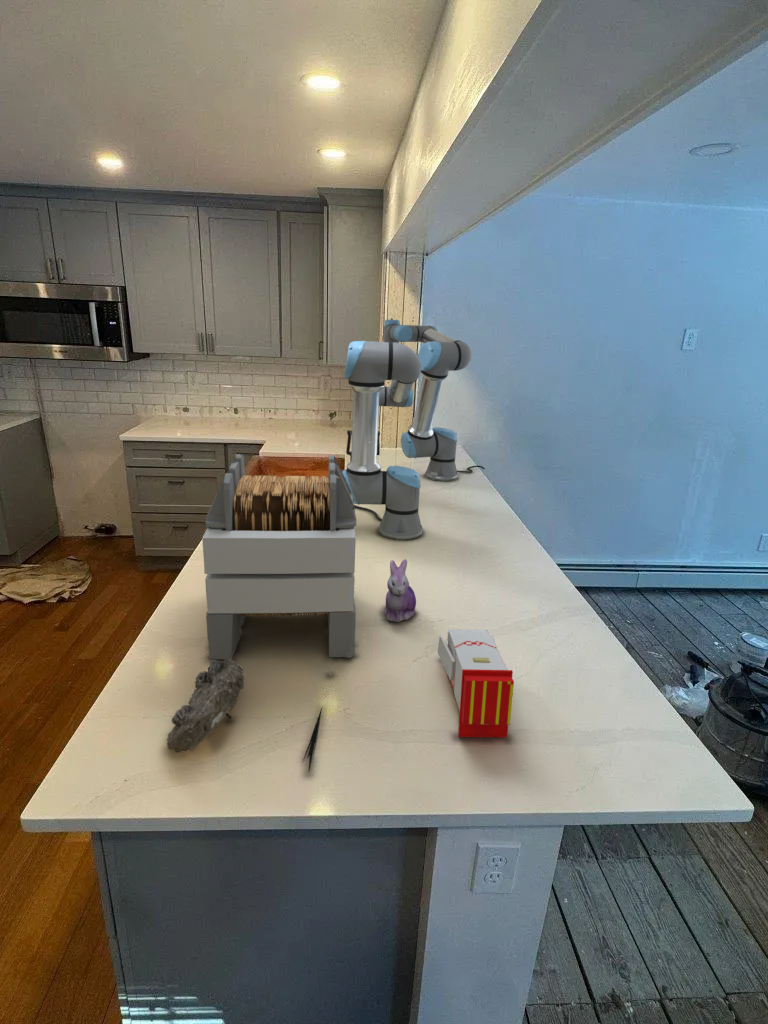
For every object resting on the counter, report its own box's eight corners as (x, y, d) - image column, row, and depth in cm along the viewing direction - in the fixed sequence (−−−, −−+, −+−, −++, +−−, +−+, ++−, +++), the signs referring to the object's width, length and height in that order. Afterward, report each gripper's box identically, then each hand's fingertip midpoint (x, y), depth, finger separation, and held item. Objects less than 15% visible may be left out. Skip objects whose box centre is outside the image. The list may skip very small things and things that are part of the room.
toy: (488, 613, 130) (523, 677, 101) (484, 667, 133) (517, 744, 104) (435, 612, 130) (455, 676, 101) (432, 666, 133) (451, 743, 103)
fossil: (192, 660, 117) (244, 628, 112) (224, 691, 120) (276, 661, 115) (142, 746, 98) (202, 712, 93) (182, 779, 101) (242, 748, 96)
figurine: (392, 627, 141) (395, 572, 136) (374, 608, 149) (376, 556, 144) (425, 619, 145) (429, 566, 140) (405, 601, 154) (408, 550, 149)
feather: (331, 679, 122) (336, 673, 122) (307, 777, 96) (313, 769, 95) (324, 675, 122) (329, 669, 121) (298, 772, 95) (304, 764, 95)
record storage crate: (229, 589, 156) (221, 444, 142) (348, 588, 159) (351, 446, 146) (206, 662, 124) (193, 484, 110) (355, 658, 128) (360, 486, 114)
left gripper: (386, 415, 235) (384, 469, 243) (339, 414, 233) (339, 468, 241) (388, 418, 228) (386, 473, 236) (340, 417, 226) (339, 473, 234)
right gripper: (414, 353, 282) (412, 396, 289) (364, 351, 279) (363, 394, 287) (416, 354, 275) (414, 398, 282) (365, 352, 272) (364, 397, 280)
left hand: (362, 470), depth 238 cm, fingers closed on cosmetic box, 6 cm apart
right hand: (388, 396), depth 284 cm, fingers open, 13 cm apart
